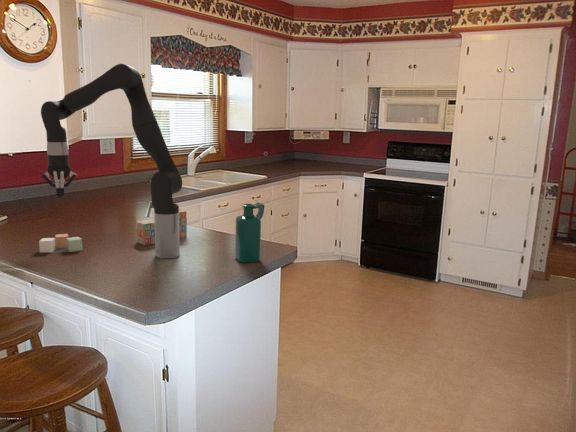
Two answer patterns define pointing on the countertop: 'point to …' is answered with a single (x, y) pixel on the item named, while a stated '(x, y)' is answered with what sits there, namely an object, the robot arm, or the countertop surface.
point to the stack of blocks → (148, 229)
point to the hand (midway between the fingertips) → (61, 197)
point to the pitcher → (248, 234)
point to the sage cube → (74, 244)
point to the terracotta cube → (61, 240)
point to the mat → (59, 250)
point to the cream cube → (47, 244)
